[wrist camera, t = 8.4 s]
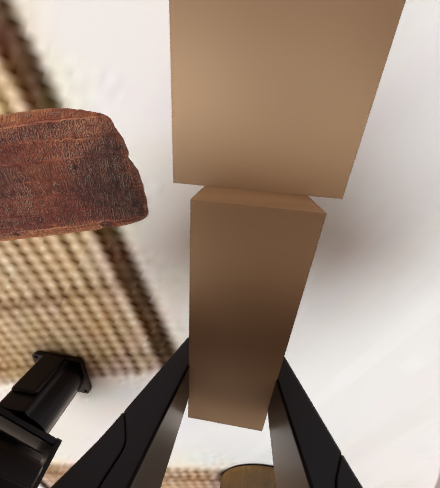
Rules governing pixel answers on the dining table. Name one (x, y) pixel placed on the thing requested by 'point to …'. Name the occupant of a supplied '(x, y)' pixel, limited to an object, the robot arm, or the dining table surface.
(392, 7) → the tan paddle
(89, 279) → the dining table surface
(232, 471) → the wooden container
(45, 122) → the wooden tablet
